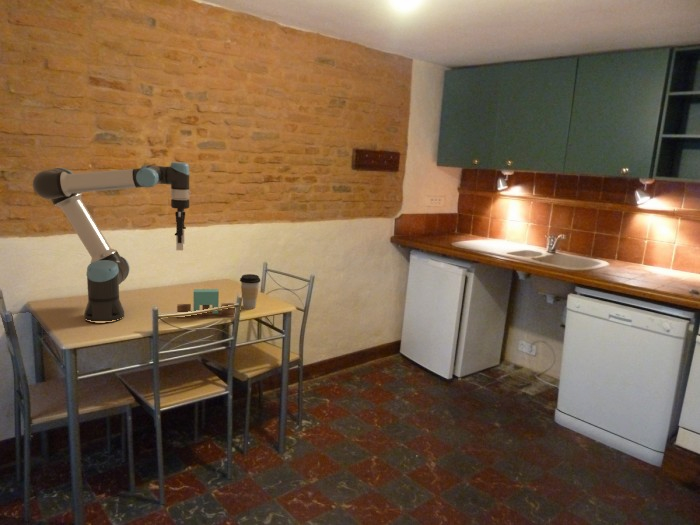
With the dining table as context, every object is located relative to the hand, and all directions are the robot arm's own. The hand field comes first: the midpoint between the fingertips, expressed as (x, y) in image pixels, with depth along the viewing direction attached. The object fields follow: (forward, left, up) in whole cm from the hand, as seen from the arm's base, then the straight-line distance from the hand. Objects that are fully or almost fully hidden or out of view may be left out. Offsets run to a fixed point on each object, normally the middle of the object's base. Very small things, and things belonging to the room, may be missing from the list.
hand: (180, 246), depth 225 cm
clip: (+11, -10, -27) cm, 31 cm away
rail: (+11, -10, -29) cm, 32 cm away
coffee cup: (+31, 0, -29) cm, 42 cm away
